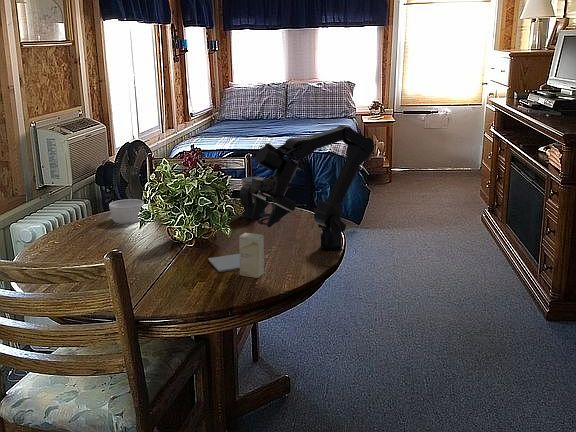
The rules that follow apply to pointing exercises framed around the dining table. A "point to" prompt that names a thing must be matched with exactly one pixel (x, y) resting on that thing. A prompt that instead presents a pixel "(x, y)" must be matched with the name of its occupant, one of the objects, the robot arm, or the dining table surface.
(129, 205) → the white bowl
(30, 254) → the dining table surface
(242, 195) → the milk frother
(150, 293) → the dining table surface
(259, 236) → the skincare box
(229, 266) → the slate mat
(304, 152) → the robot arm
